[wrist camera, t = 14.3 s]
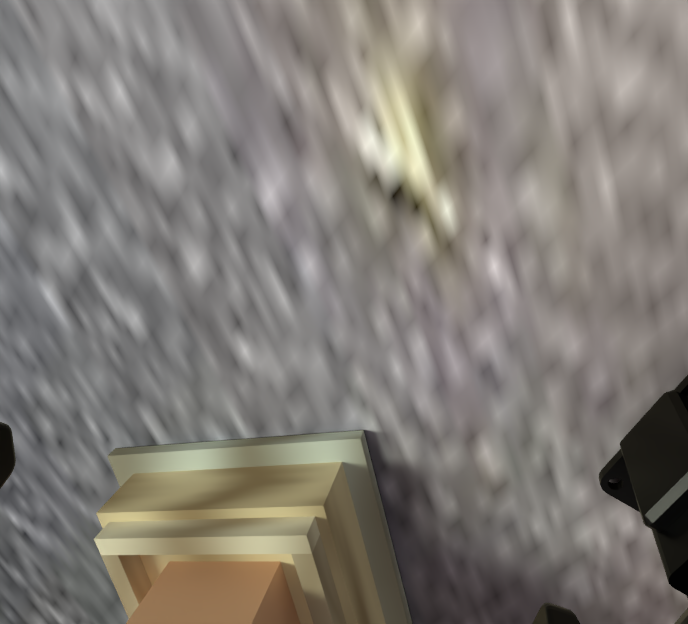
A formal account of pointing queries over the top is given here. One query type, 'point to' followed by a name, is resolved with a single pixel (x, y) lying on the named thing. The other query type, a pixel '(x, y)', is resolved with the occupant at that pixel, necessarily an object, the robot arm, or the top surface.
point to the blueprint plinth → (258, 520)
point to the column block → (218, 594)
